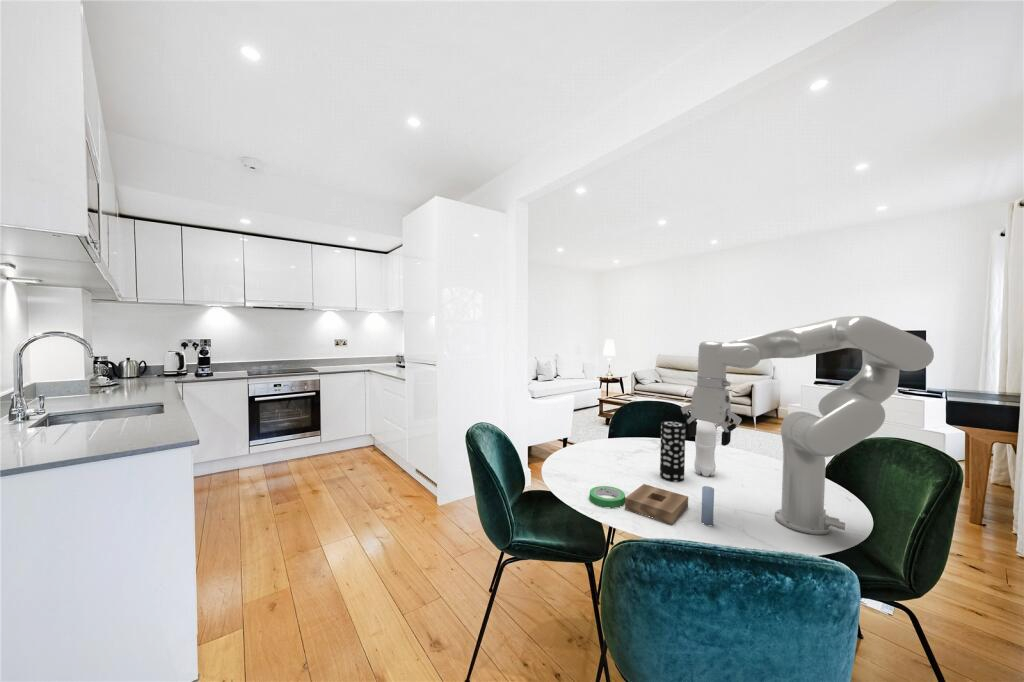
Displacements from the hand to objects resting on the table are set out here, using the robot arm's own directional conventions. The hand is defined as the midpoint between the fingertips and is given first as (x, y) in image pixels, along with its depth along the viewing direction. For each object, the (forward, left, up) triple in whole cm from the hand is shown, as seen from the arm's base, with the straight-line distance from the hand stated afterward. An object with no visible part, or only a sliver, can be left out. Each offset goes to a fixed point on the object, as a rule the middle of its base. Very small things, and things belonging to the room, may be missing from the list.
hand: (708, 440), depth 113 cm
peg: (-2, +6, -22) cm, 23 cm away
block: (+12, +7, -22) cm, 26 cm away
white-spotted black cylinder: (+17, -21, -22) cm, 35 cm away
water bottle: (+9, -33, -22) cm, 40 cm away
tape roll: (+26, +12, -23) cm, 37 cm away
